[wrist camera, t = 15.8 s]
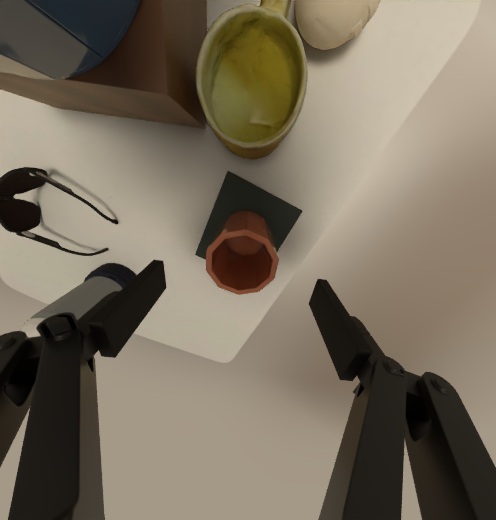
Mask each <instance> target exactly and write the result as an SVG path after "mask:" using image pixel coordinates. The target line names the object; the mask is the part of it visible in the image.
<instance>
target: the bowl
mask: <svg viewBox="0 0 496 520" xmlns="http://www.w3.org/2000/svg"><path fill="white" fill-rule="evenodd" d="M139 3H140V0H0V72H5V73H11V74H16V75H20V76H24V77H29V78H33V79H45V80H57V79H65V78H71V77H74V76H77V75H80V74H83V73H85V72H87V71H89V70H90V69H92V68H94V67H95V66H97V65H99V64H100V63H101V62H102V61H103V60H104V59H106V58H107V57H108V56H109V55H110V54H111V53H112V52H113V51H114V49H115V48H116V47H117V45H118V44H119V43H120V41H121V40H122V39H123V37H124V36H125V34H126V32H127V30H128V28H129V26H130V24H131V22H132V20H133V19H134V17H135V14H136V11H137V8H138V5H139Z"/></svg>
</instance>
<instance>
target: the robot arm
mask: <svg viewBox="0 0 496 520" xmlns="http://www.w3.org/2000/svg"><path fill="white" fill-rule="evenodd" d="M165 289H166V280H165V272H164V264H163V261H159V260H153V261H152V262H151V263H150V264H149V265H148V266H147V267H146V268H145V269H143V270H142V271H141V272H140V273H139V274H138V275H137V276H136V277H135V278H134V279H133V280H131V281H130V282H129V283H128V284H127V285H126V286H125V287H124V288H123V289H122V290H121V291H113V292H111V293H110V294H108V295H106V296H105V297H104V298H102V299H101V300H100V302H98V303H97V304H95V305H94V307H92V308H91V309H90V310H88V311H87V312H86V313H85V314H84V315H83V316H81V317H80V318H79V319H78V320H77V319H76V317H75V315H74V314H73V313H71V312H64V313H58V314H55V315H52V316H50V317H48V318H46V319H44V320H43V321H42V322H41V323H39V324H38V326H37V327H36V329H37V331H38V332H39V334H40V336H37V337H30V338H28V336H27V335H26V333H25V332H22V331H15V332H10V333H6V334H3V335H1V336H0V467H1V464H2V462H3V461H4V458H5V456H6V454H7V452H8V450H9V448H10V446H11V444H12V442H13V440H14V438H15V436H16V434H17V432H18V430H19V428H20V426H21V424H22V422H23V420H24V418H25V416H26V414H27V412H28V410H29V408H30V411H29V416H28V421H27V426H26V431H25V437H24V441H23V446H22V452H21V456H20V462H19V467H18V472H17V477H16V482H15V487H14V492H13V497H12V502H11V507H10V512H9V517H8V520H105V517H104V504H103V487H102V471H101V454H100V436H99V422H98V421H99V420H98V403H97V388H96V387H97V386H96V371H95V359H94V355H95V353H96V352H97V351H98V350H99V351H100V354H101V356H104V357H114V358H115V357H116V356H117V355H118V353H119V352H120V350H121V349H122V348H123V346H124V345H125V344H126V342H127V341H128V339H129V338H130V337H131V335H132V334H133V333H134V331H135V330H136V329H137V327H138V326H139V324H140V323H141V322H142V320H143V319H144V318H145V316H146V315H147V314H148V312H149V311H150V309H151V308H152V307H153V305H154V304H155V303H156V301H157V300H158V298H159V297H160V296H161V294H162V293H163V292H164V290H165ZM309 305H310V308H311V310H312V312H313V315H314V317H315V320H316V322H317V325H318V327H319V330H320V332H321V335H322V337H323V339H324V342H325V344H326V347H327V349H328V352H329V354H330V357H331V359H332V361H333V364H334V366H335V369H336V371H337V373H338V376H339V379H340V380H347V381H353V379H354V378H355V377H356V376H358V378H359V380H360V383H359V384H358V386H357V387H356V389H355V390H354V391H353V393H356V394H355V397H354V400H353V404H352V407H351V411H350V414H349V417H348V421H347V424H346V428H345V431H344V434H343V438H342V442H341V445H340V448H339V452H338V455H337V459H336V462H335V465H334V469H333V472H332V476H331V479H330V482H329V486H328V489H327V492H326V496H325V499H324V503H323V506H322V510H321V513H320V516H319V520H401V508H402V483H403V461H404V460H403V459H404V438H405V442H406V446H407V451H408V456H409V461H410V465H411V470H412V474H413V479H414V484H415V488H416V493H417V498H418V503H419V507H420V512H421V516H422V520H496V467H495V465H494V463H493V462H492V460H491V458H490V456H489V454H488V452H487V450H486V448H485V446H484V444H483V442H482V440H481V438H480V436H479V434H478V432H477V430H476V428H475V426H474V424H473V422H472V420H471V418H470V416H469V414H468V412H467V410H466V409H465V407H464V405H463V403H462V401H461V399H460V397H459V395H458V393H457V392H456V390H455V389H454V388H453V386H452V385H450V383H449V382H447V381H446V380H444V379H443V378H442V377H440V376H438V375H436V374H434V373H431V372H425V373H424V374H423V375H422V376H421V377H420V376H418V375H415V374H412V373H410V372H407V371H405V370H404V368H403V367H402V366H401V365H400V364H399V363H398V362H396V361H395V360H393V359H391V358H390V357H387V356H385V355H384V353H383V352H382V350H381V349H380V347H379V346H378V345H377V343H376V342H375V340H374V339H373V338H372V336H370V333H369V332H368V331H367V329H366V328H365V326H364V325H363V323H362V322H361V321H360V320H358V319H357V318H356V317H353V316H350V315H349V314H348V312H347V311H346V309H345V308H344V306H343V305H342V303H341V302H340V300H339V298H338V297H337V295H336V294H335V292H334V291H333V290H332V288H331V286H330V285H329V283H328V282H327V280H322V279H318V280H317V282H316V285H315V288H314V291H313V294H312V296H311V299H310V302H309Z"/></svg>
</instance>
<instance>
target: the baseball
mask: <svg viewBox="0 0 496 520" xmlns="http://www.w3.org/2000/svg"><path fill="white" fill-rule="evenodd" d="M379 3H380V0H295V15H296V21H297V25H298V28H299V31H300V34H301V35H302V37H303V38H304V39H305V41H306V42H307V43H308V44H309V45H311V46H313V47H315V48H318V49H322V50H326V49H332V48H336V47H338V46H340V45H342V44H344V43H345V42H346V41H348V40H351V39H353V38H355V37H356V36H357V35H358V34H359V33H360V32H361V30H362V29H363V28H364V27H365V25H366V24H367V22H368V21H369V20H370V19H371V18H372V16H373V15H374V13H375V12H376V10H377V8H378V6H379Z"/></svg>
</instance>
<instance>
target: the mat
mask: <svg viewBox="0 0 496 520" xmlns="http://www.w3.org/2000/svg"><path fill="white" fill-rule="evenodd" d="M247 210H249V211H252V212H255V213H257V214H258V215H260V216H261V217H263V218H264V220H265V221H266V223H267V225H268V227H269V229H270V231H271V235H272V238H273V241H274V245H275V248H276V251H278V250H279V248H280V246H281V245H282V243H283V242H284V240H285V238H286V237H287V235H288V234H289V232H290V230H291V229H292V227H293V226H294V224H295V222H296V221H297V219H298V218H299V216H300V214H301V213H302V210H300V209H298V208H296V207H294V206H292V205H290V204H288V203H287V202H285V201H283V200H281V199H279V198H277V197H275V196H274V195H272V194H270V193H268V192H266V191H264V190H262V189H261V188H259V187H257V186H255V185H253V184H251V183H249V182H247V181H246V180H244V179H242V178H240V177H238V176H236V175H234V174H233V173H231V172H229V171H228V172H227V174H226V177H225V179H224V182H223V185H222V187H221V190H220V192H219V195H218V197H217V200H216V203H215V205H214V208H213V210H212V213H211V215H210V218H209V221H208V223H207V226H206V228H205V231H204V233H203V236H202V239H201V241H200V244H199V246H198V249H197V251H196V254H195V255H197V256H199V257H201V258H204V259H206V251H207V249H208V247H209V245H210V244H211V242H212V240H213V238H214V237H215V235H216V233H217V232H218V230H219V228H220V227H221V225H222V224H223V223H224V221H225V220H226V219H227V218H228V217H229V216H230V215H231V214H232V213H235V212H238V211H247Z"/></svg>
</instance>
